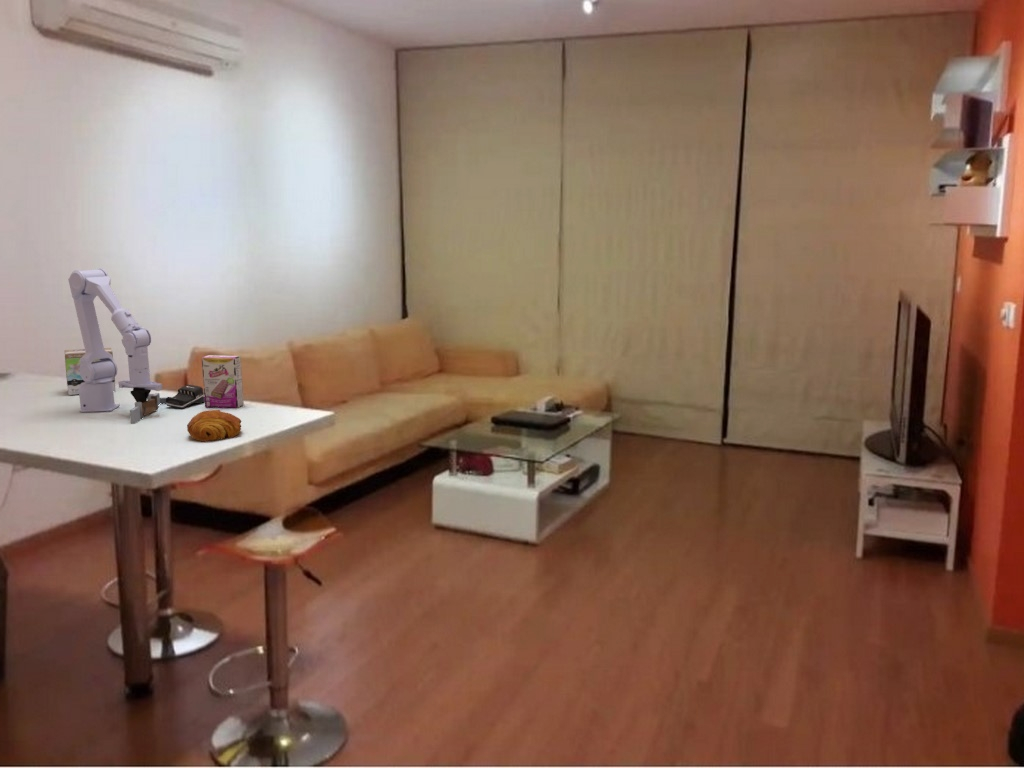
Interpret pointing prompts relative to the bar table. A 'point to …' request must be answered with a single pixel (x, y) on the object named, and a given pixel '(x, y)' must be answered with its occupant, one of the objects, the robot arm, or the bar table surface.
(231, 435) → the croissant
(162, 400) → the bar
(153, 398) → the gate
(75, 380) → the tea box
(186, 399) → the battery charger
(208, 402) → the candy bar box
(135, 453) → the bar table surface
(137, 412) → the fence
